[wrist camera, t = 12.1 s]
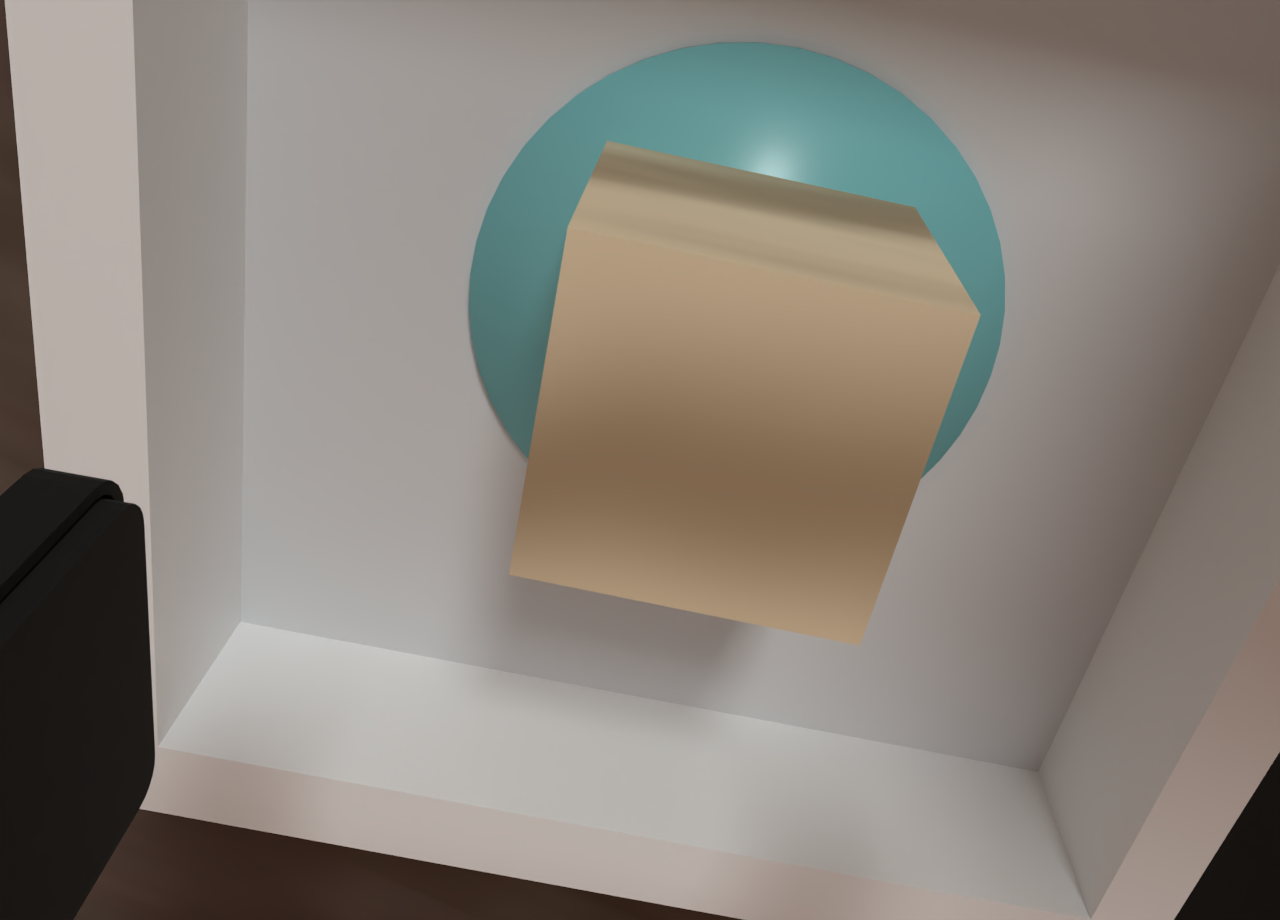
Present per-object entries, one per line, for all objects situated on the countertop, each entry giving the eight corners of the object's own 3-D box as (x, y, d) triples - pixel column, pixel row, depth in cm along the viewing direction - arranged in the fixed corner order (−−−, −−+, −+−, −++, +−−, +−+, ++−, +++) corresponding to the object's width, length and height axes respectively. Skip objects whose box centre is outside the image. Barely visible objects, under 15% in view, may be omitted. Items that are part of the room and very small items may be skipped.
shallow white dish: (157, -545, 14) (-56, -707, 11) (1604, -234, 15) (1923, -277, 11) (181, 644, 24) (72, 796, 20) (1073, 812, 24) (1142, 992, 20)
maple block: (607, 140, 17) (567, 226, 13) (915, 206, 17) (981, 315, 13) (556, 419, 20) (508, 574, 15) (828, 476, 20) (860, 645, 15)
